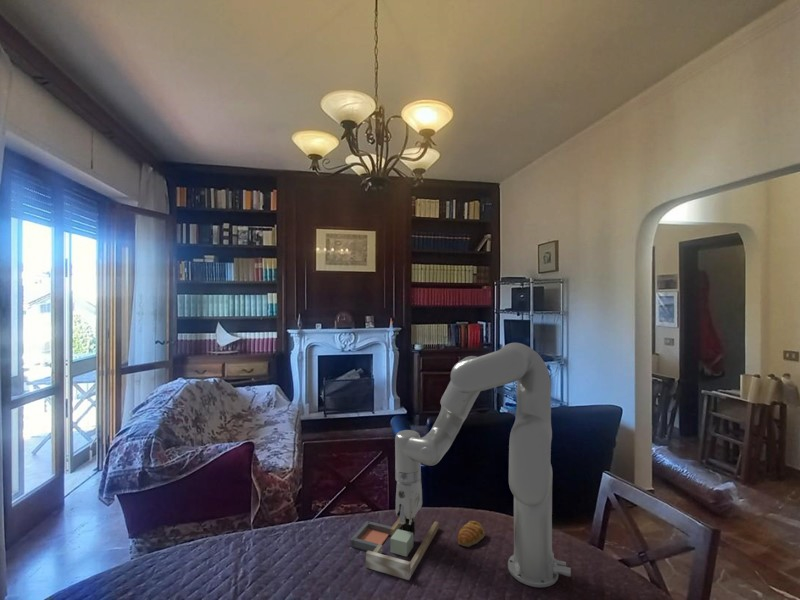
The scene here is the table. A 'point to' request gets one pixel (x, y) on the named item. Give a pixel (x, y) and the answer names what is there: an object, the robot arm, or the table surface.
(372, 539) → the tray
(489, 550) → the table surface
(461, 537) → the pastry
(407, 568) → the wooden channel walls
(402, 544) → the block
